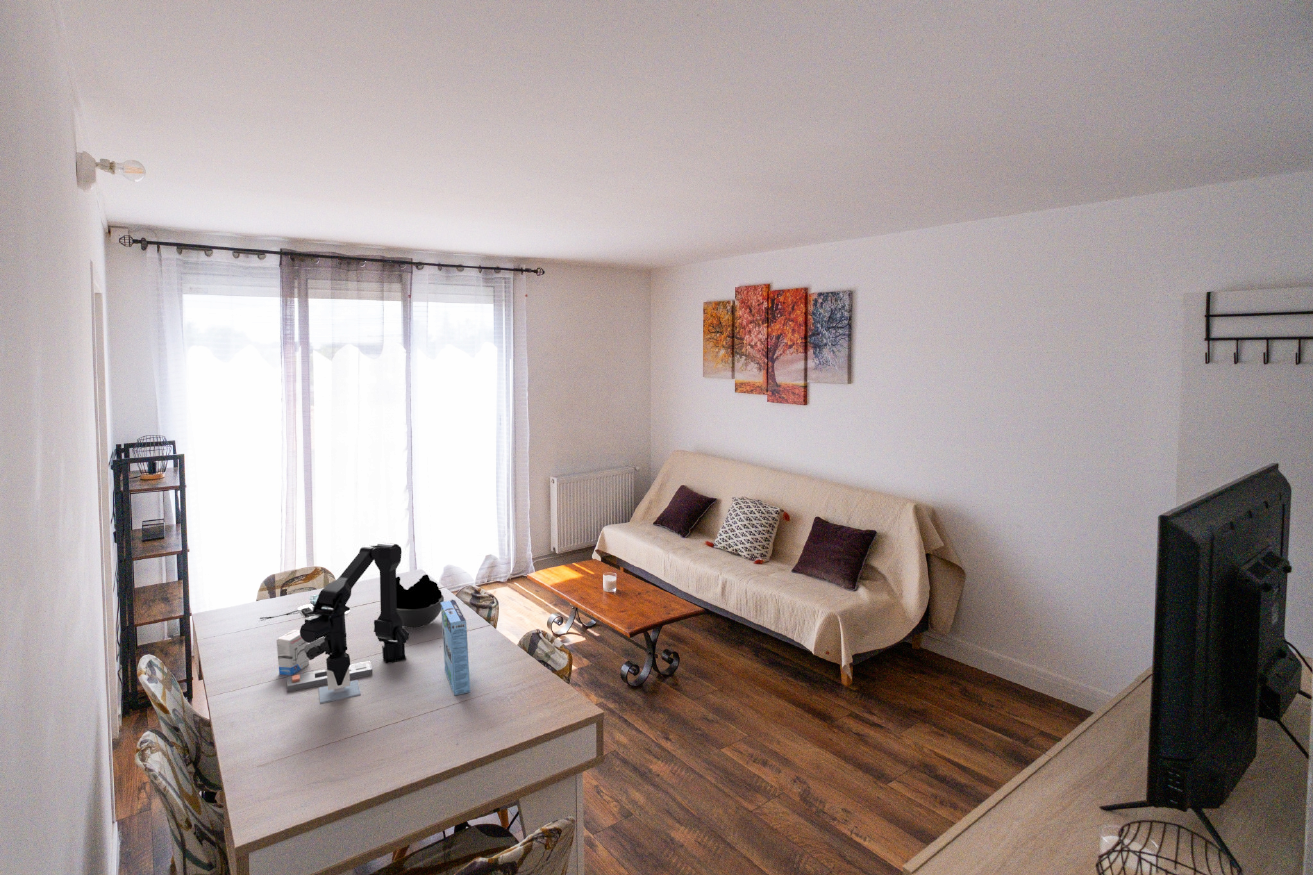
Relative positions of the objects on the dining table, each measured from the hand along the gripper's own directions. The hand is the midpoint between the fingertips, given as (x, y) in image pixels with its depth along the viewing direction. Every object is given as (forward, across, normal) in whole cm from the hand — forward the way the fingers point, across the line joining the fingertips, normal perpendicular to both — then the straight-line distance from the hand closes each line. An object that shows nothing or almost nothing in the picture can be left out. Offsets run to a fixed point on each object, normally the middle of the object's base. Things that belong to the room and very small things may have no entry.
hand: (338, 678), depth 212 cm
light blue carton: (+5, +9, +33) cm, 35 cm away
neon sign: (+5, -75, -8) cm, 76 cm away
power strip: (+4, -11, -2) cm, 12 cm away
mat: (+4, 0, 0) cm, 4 cm away
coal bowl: (+5, -42, +29) cm, 51 cm away
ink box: (+5, -24, -12) cm, 27 cm away
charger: (+4, 0, 0) cm, 4 cm away
